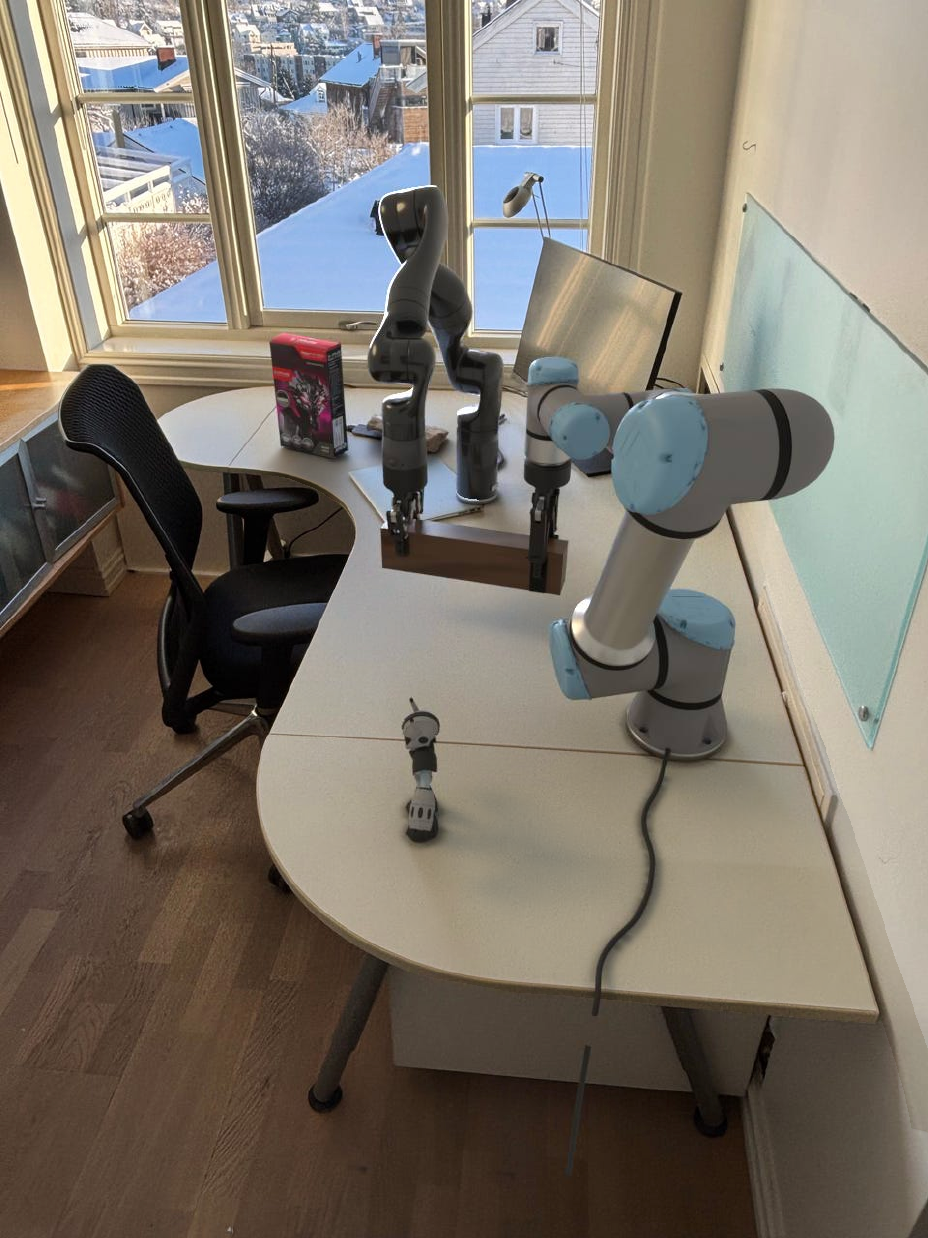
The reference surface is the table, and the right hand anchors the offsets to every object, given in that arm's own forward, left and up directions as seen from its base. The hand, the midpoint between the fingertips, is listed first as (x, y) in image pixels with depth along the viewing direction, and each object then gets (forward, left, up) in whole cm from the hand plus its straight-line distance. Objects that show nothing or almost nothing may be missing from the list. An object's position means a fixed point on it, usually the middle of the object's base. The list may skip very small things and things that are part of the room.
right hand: (540, 582), depth 159 cm
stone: (+75, +50, -11) cm, 91 cm away
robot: (-49, +6, -11) cm, 51 cm away
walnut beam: (0, +12, 0) cm, 12 cm away
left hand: (0, +24, +3) cm, 24 cm away
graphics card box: (+64, +70, -11) cm, 96 cm away
